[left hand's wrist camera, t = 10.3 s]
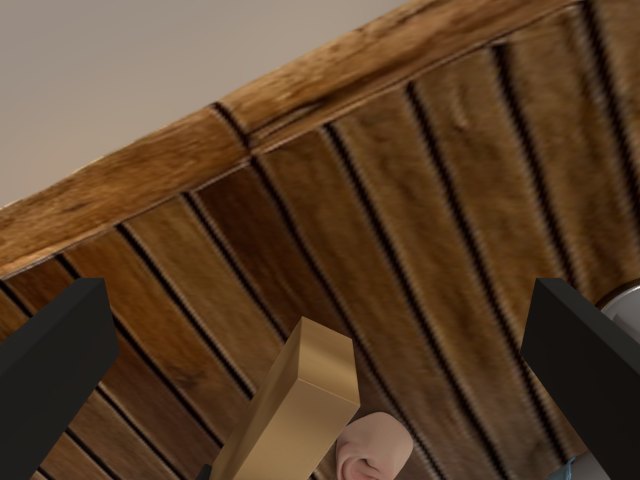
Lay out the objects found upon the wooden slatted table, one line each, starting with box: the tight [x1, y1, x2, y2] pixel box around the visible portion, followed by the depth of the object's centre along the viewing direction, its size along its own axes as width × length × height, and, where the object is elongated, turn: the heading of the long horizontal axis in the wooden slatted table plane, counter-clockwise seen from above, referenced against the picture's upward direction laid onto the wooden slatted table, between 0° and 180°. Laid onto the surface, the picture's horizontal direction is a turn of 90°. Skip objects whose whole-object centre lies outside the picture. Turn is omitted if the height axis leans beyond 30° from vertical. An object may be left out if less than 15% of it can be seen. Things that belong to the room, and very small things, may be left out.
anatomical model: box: [336, 412, 413, 480], centre depth 56 cm, size 13×4×12 cm
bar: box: [209, 316, 360, 480], centre depth 35 cm, size 24×5×8 cm, turn 151°
